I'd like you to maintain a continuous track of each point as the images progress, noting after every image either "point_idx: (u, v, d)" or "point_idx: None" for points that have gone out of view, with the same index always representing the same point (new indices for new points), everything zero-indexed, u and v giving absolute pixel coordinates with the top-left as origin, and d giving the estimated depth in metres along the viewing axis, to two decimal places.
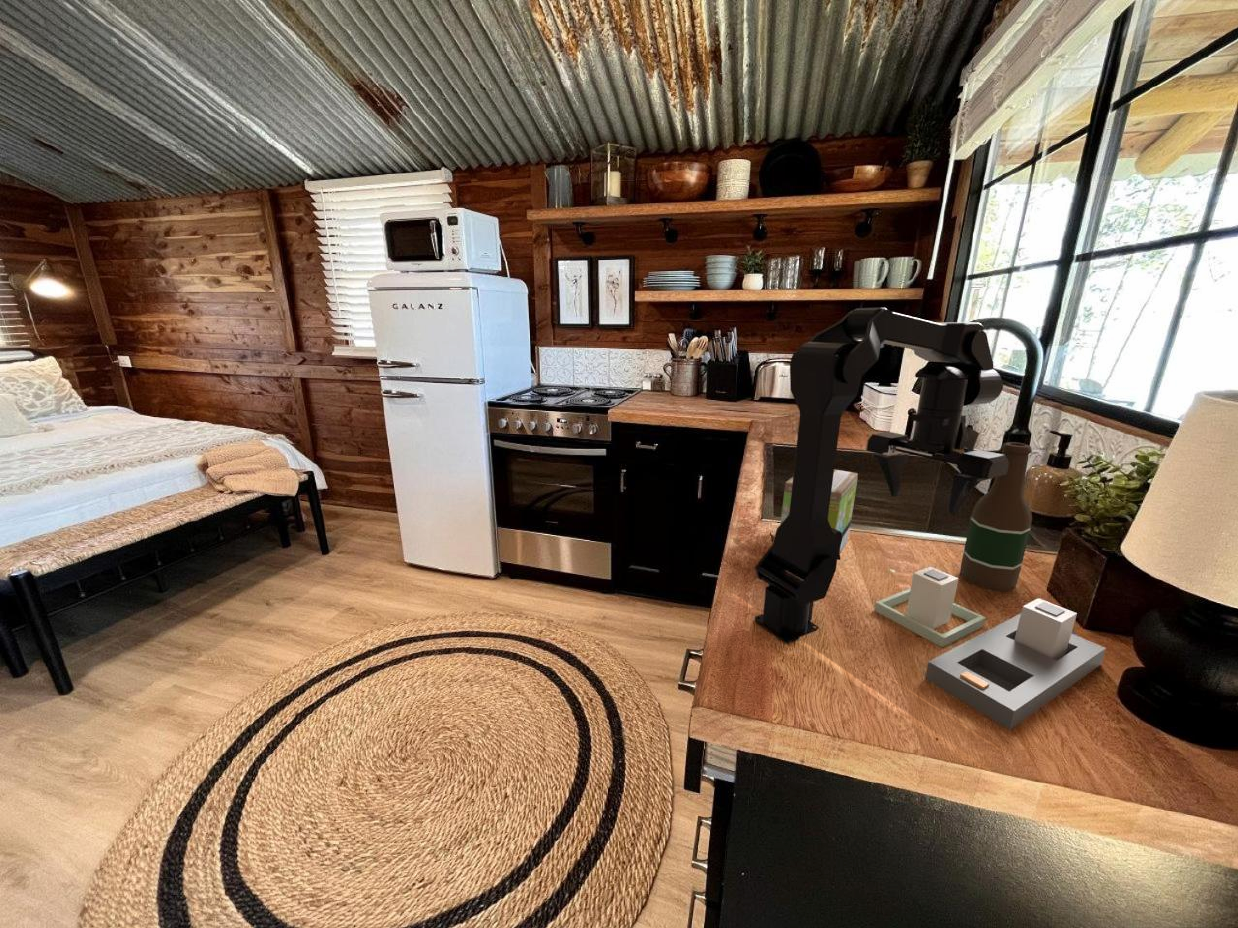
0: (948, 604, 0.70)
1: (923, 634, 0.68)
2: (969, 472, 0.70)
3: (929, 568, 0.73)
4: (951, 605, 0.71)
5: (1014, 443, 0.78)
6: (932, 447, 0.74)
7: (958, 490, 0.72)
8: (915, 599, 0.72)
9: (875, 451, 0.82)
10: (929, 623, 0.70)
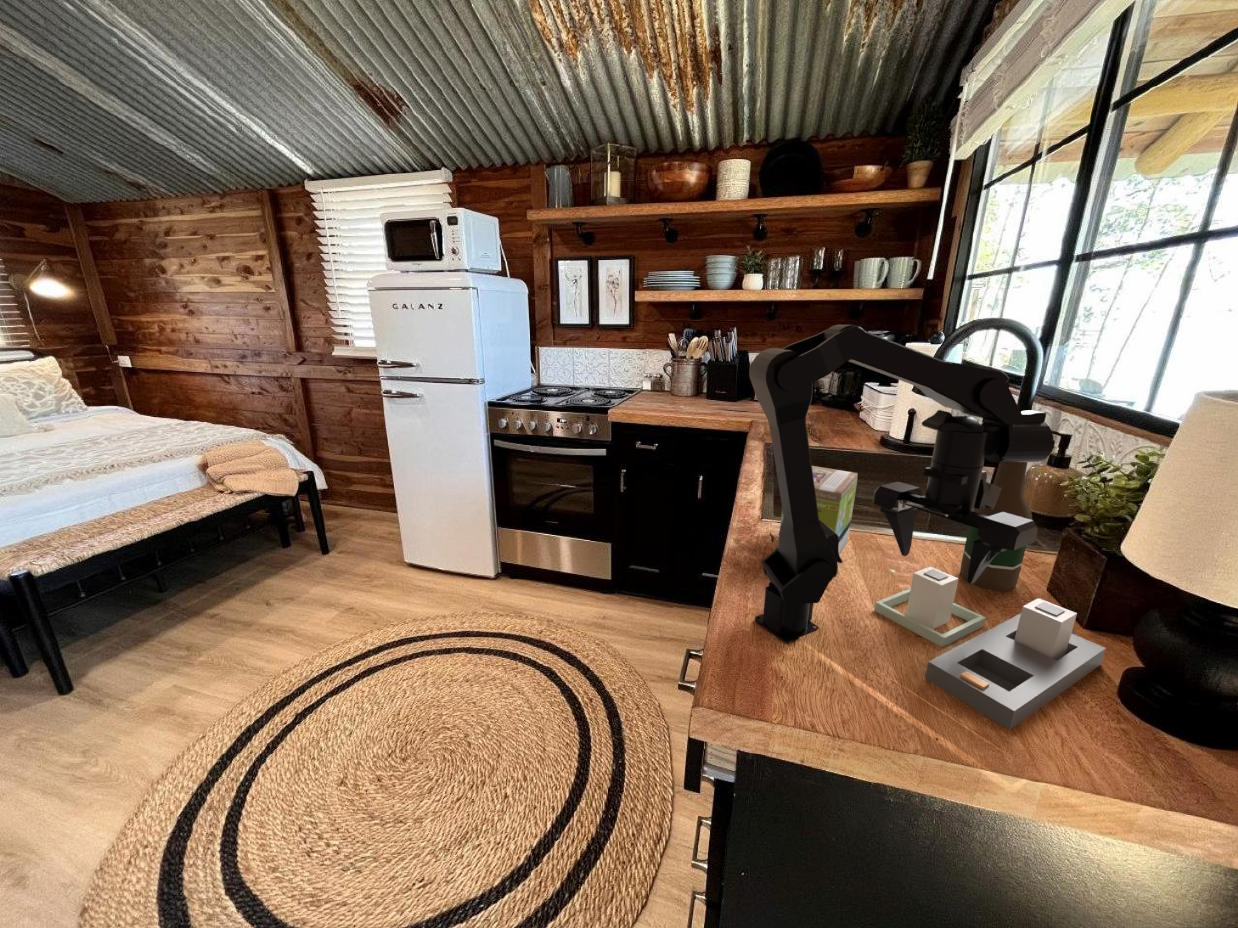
0: (948, 604, 0.70)
1: (923, 634, 0.68)
2: (992, 541, 0.61)
3: (929, 568, 0.73)
4: (951, 605, 0.71)
5: None
6: (948, 508, 0.65)
7: (979, 559, 0.63)
8: (915, 599, 0.72)
9: (883, 505, 0.73)
10: (929, 623, 0.70)
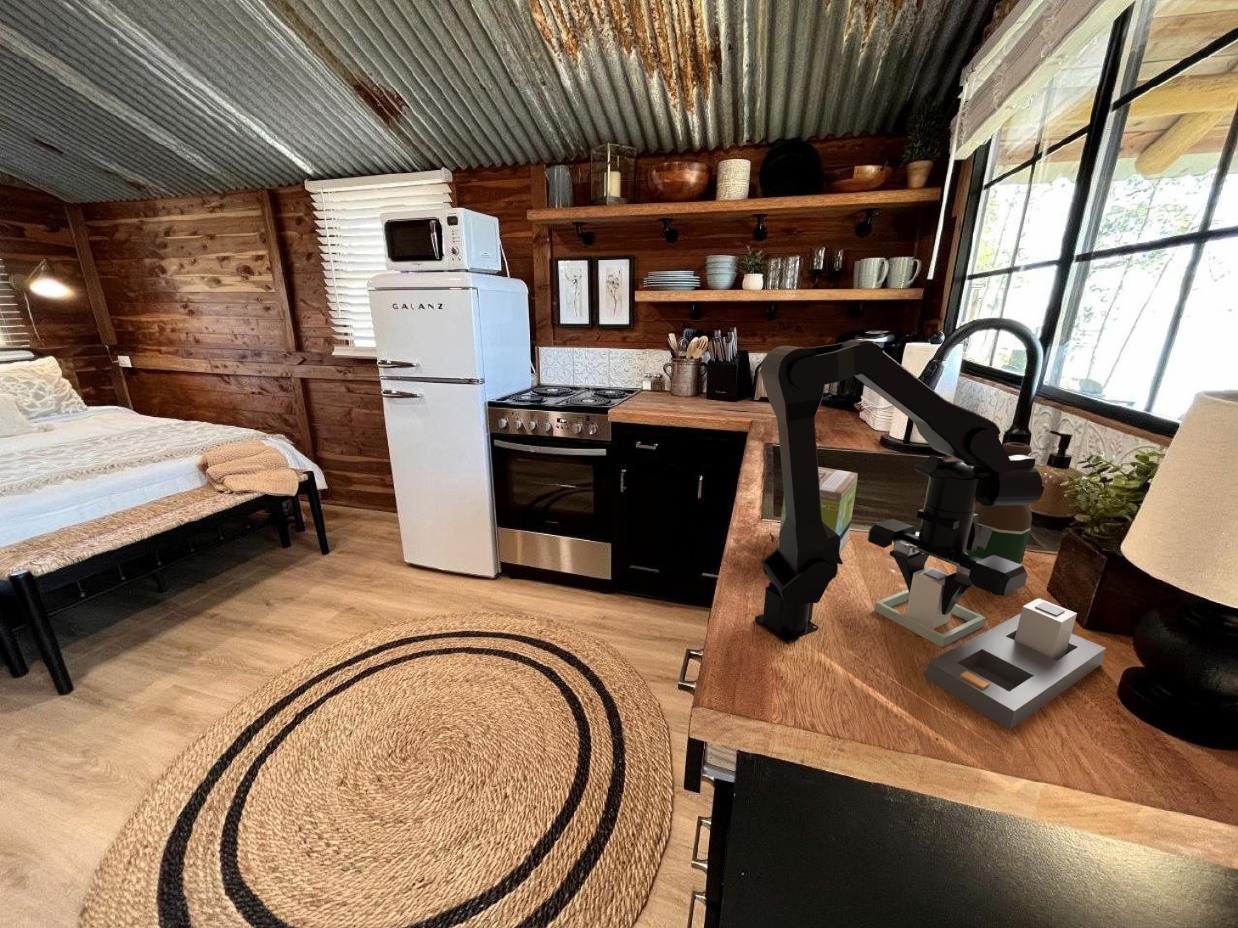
0: None
1: (923, 634, 0.68)
2: (983, 585, 0.62)
3: (929, 568, 0.73)
4: None
5: (1014, 443, 0.78)
6: (941, 550, 0.67)
7: (951, 593, 0.67)
8: (915, 599, 0.72)
9: (878, 544, 0.75)
10: (929, 623, 0.70)
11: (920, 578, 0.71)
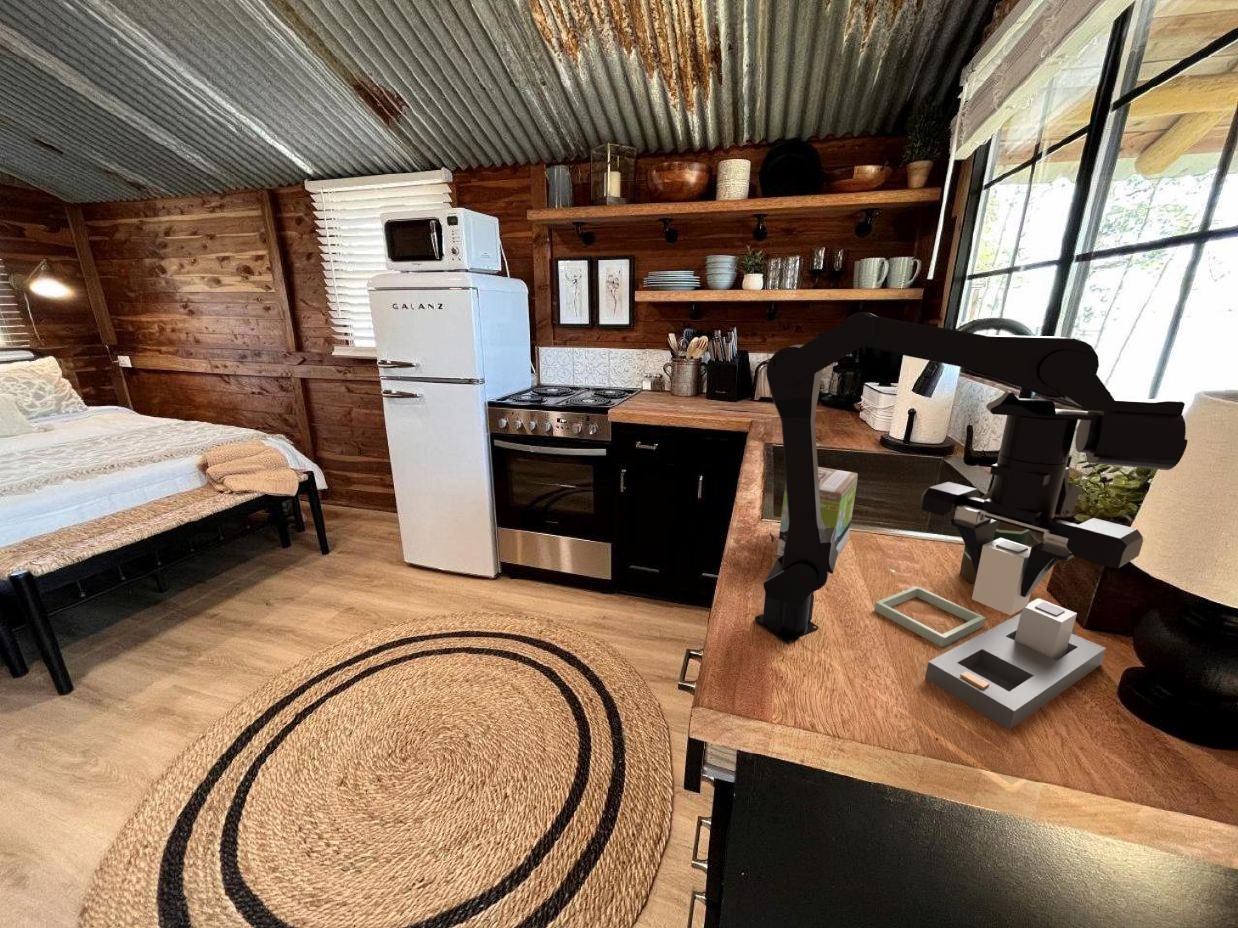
0: None
1: (923, 634, 0.68)
2: (1088, 556, 0.48)
3: (1000, 539, 0.58)
4: None
5: None
6: (1025, 514, 0.52)
7: (1038, 568, 0.52)
8: (985, 578, 0.57)
9: (934, 511, 0.60)
10: (1005, 608, 0.56)
11: (993, 551, 0.56)
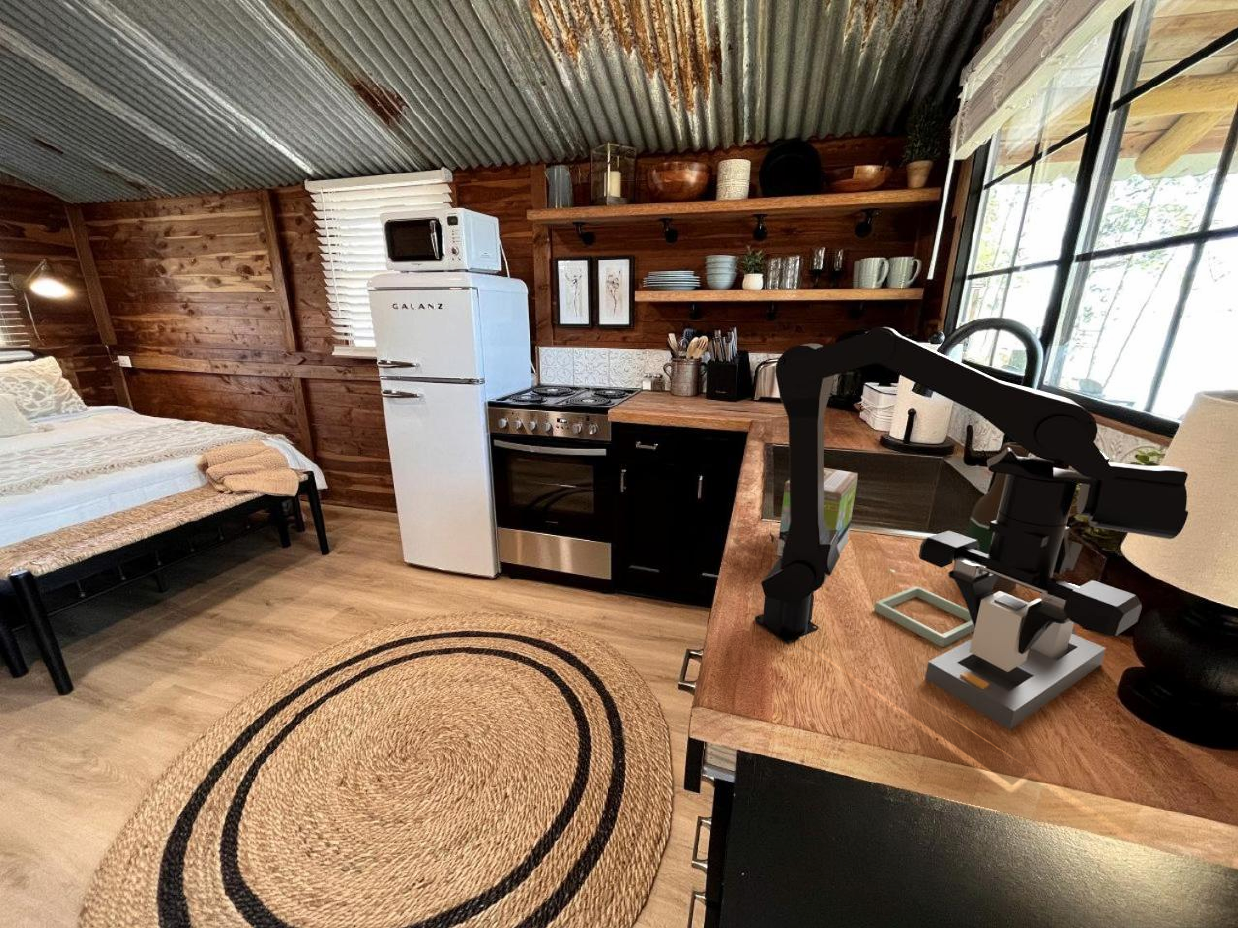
0: None
1: (923, 634, 0.68)
2: (1084, 622, 0.48)
3: (999, 593, 0.58)
4: None
5: (1014, 443, 0.78)
6: (1022, 574, 0.52)
7: (1035, 628, 0.52)
8: (983, 633, 0.57)
9: (933, 562, 0.60)
10: (1002, 664, 0.56)
11: (991, 607, 0.56)
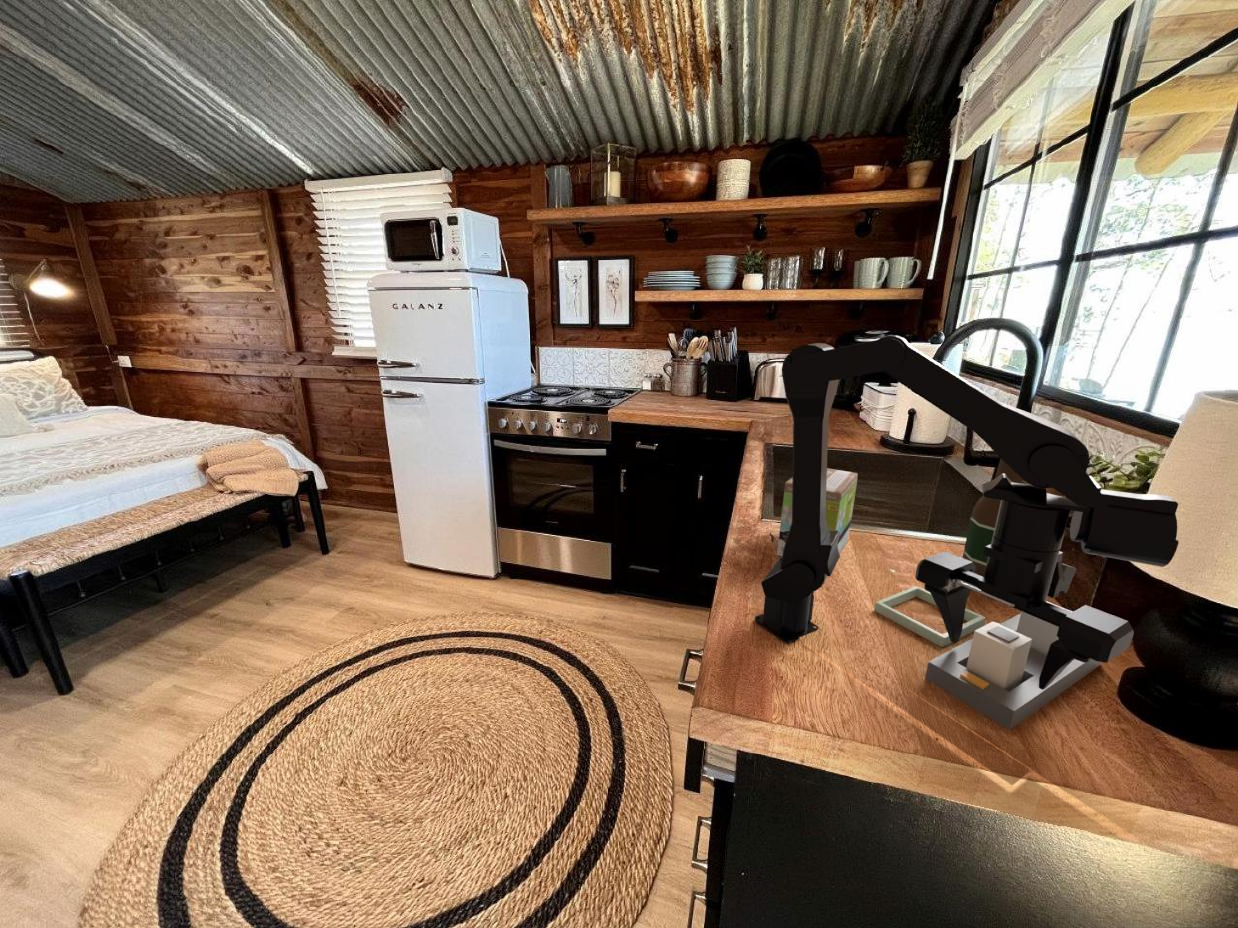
0: (1018, 670, 0.57)
1: (923, 634, 0.68)
2: (1077, 648, 0.49)
3: (993, 624, 0.59)
4: (1022, 671, 0.57)
5: None
6: (1017, 598, 0.53)
7: (1057, 665, 0.51)
8: (976, 663, 0.58)
9: (929, 584, 0.61)
10: None
11: (984, 638, 0.57)
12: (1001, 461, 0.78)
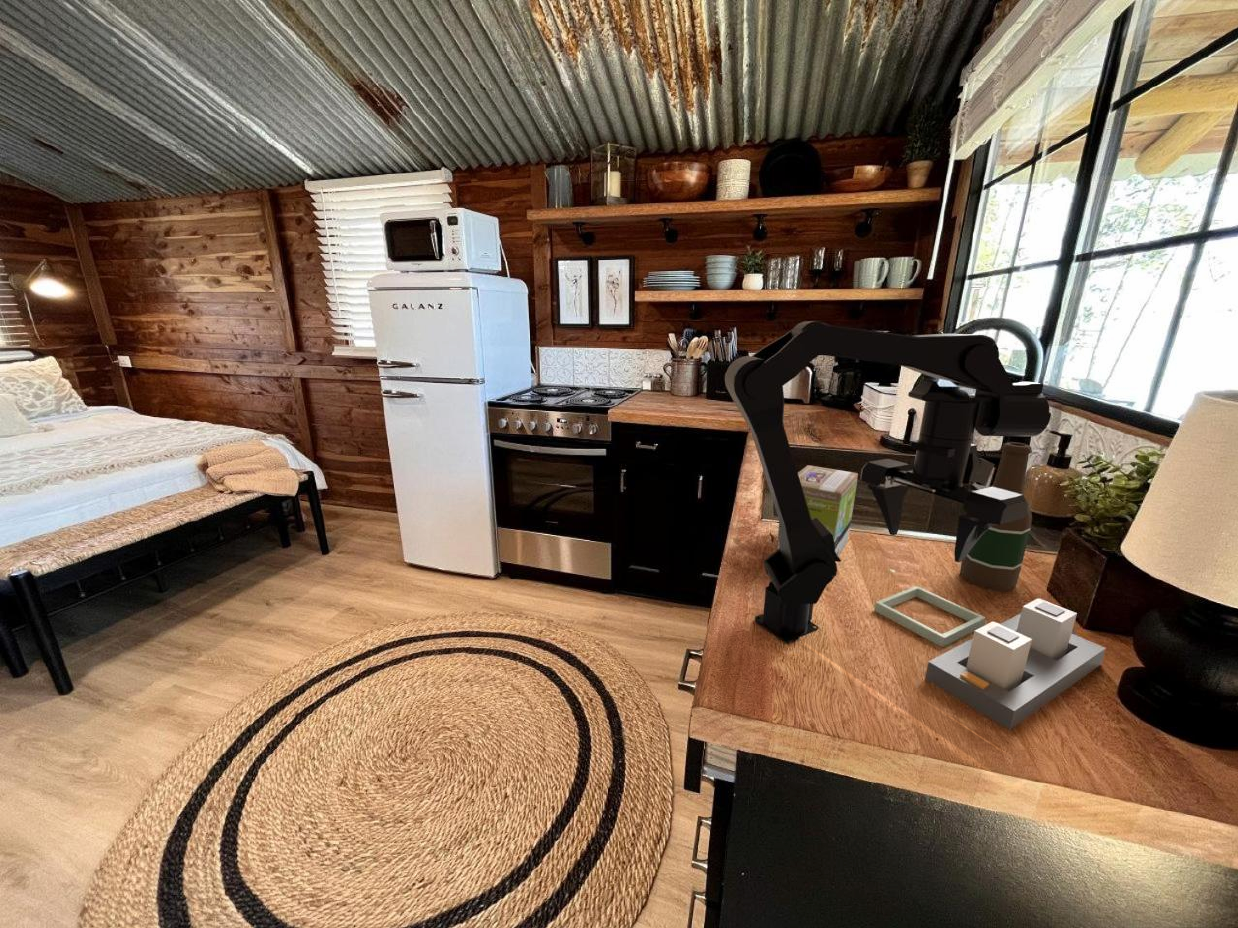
0: (1018, 670, 0.57)
1: (923, 634, 0.68)
2: (977, 515, 0.58)
3: (993, 624, 0.59)
4: (1022, 671, 0.57)
5: (1014, 443, 0.78)
6: (935, 482, 0.62)
7: (965, 535, 0.60)
8: (976, 663, 0.58)
9: (870, 482, 0.71)
10: None
11: (984, 638, 0.57)
12: (1001, 461, 0.78)
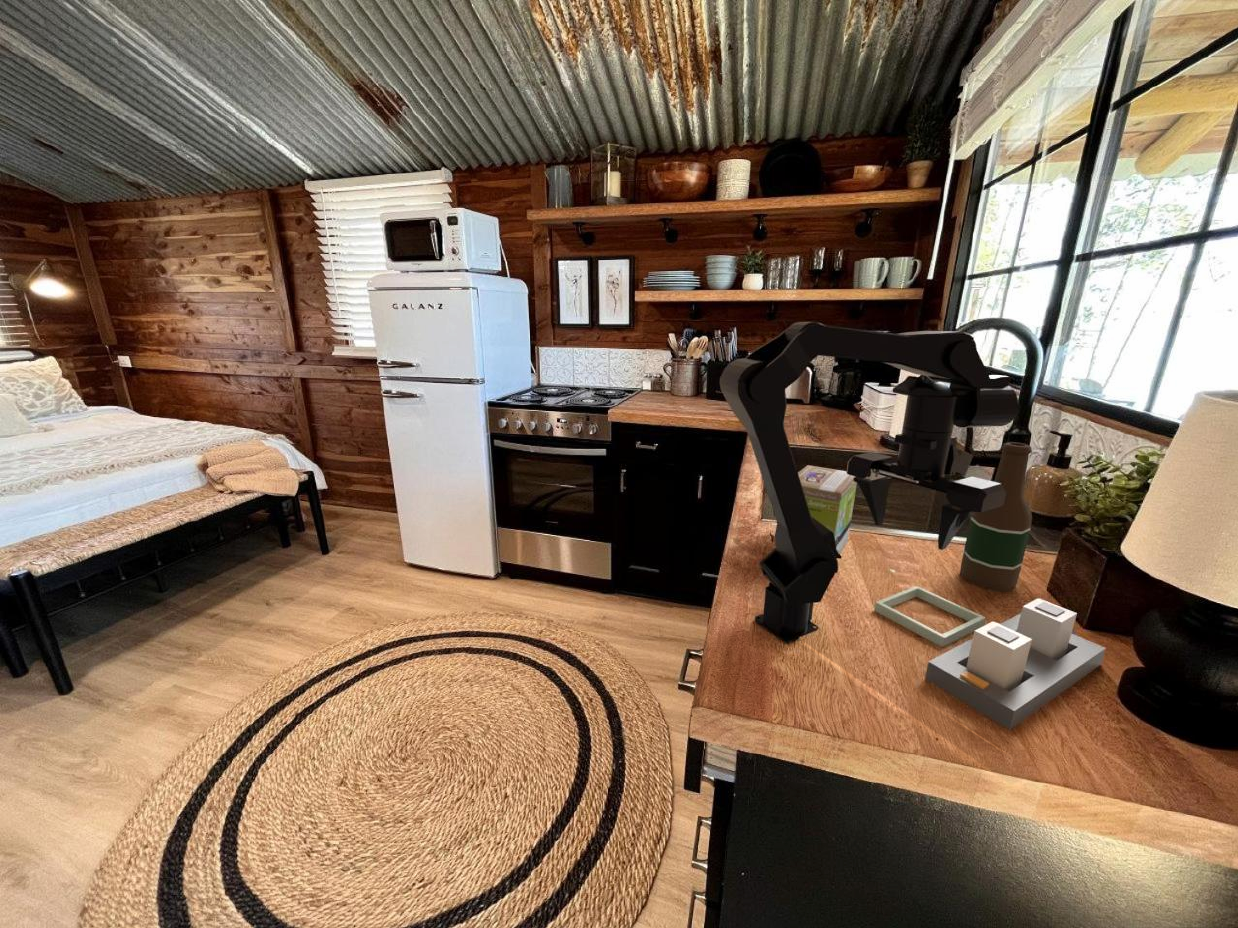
0: (1018, 670, 0.57)
1: (923, 634, 0.68)
2: (960, 504, 0.61)
3: (993, 624, 0.59)
4: (1022, 671, 0.57)
5: (1014, 443, 0.78)
6: (918, 473, 0.65)
7: (948, 523, 0.63)
8: (976, 663, 0.58)
9: (856, 475, 0.73)
10: None
11: (984, 638, 0.57)
12: (1001, 461, 0.78)
